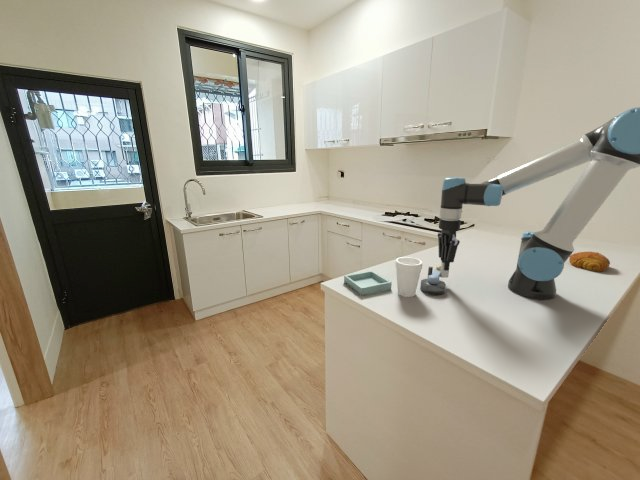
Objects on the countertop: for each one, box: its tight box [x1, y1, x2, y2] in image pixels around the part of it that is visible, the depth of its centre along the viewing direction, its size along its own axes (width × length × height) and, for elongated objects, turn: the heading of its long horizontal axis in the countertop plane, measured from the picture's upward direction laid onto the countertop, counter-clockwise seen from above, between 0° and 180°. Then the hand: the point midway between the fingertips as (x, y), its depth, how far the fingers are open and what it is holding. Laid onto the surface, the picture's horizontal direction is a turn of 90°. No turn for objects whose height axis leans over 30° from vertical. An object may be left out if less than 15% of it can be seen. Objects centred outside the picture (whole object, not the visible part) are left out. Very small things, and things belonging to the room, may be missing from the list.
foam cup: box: [395, 256, 423, 298], centre depth 111 cm, size 10×9×13 cm
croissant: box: [568, 251, 611, 273], centre depth 139 cm, size 14×16×8 cm
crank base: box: [420, 266, 446, 296], centre depth 115 cm, size 12×10×6 cm
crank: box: [427, 265, 441, 284], centre depth 117 cm, size 13×4×3 cm, turn 149°
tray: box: [343, 270, 392, 297], centre depth 119 cm, size 14×14×3 cm
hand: (444, 276), depth 118 cm, fingers closed
